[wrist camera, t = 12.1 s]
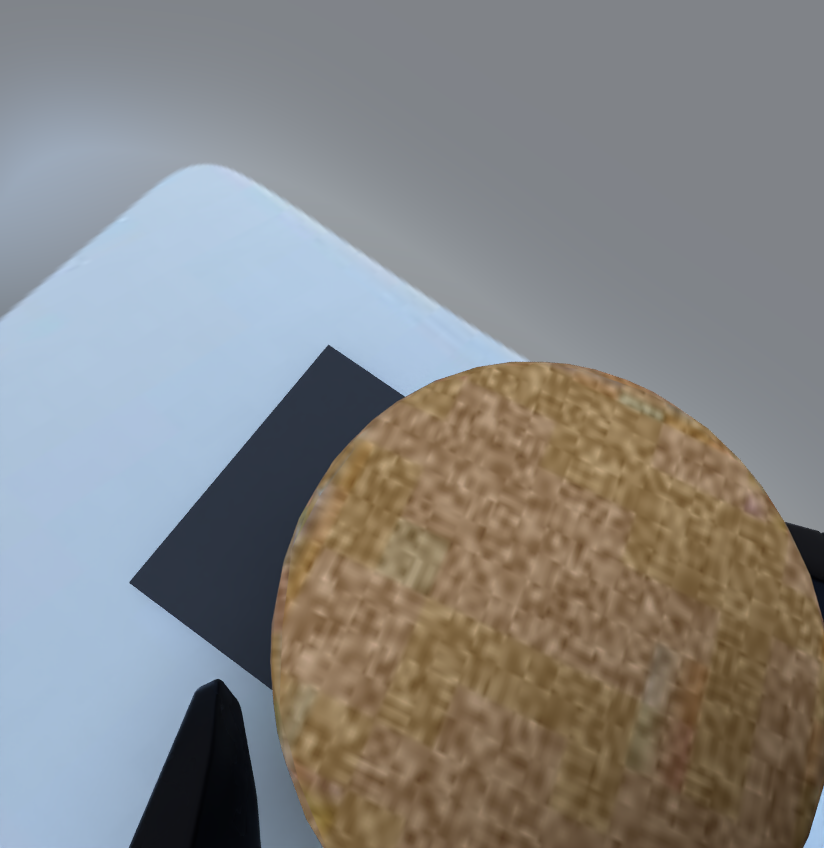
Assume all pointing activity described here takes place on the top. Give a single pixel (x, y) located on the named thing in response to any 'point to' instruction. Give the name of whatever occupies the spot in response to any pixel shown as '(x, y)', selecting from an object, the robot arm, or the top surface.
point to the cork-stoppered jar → (547, 629)
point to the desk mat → (260, 512)
